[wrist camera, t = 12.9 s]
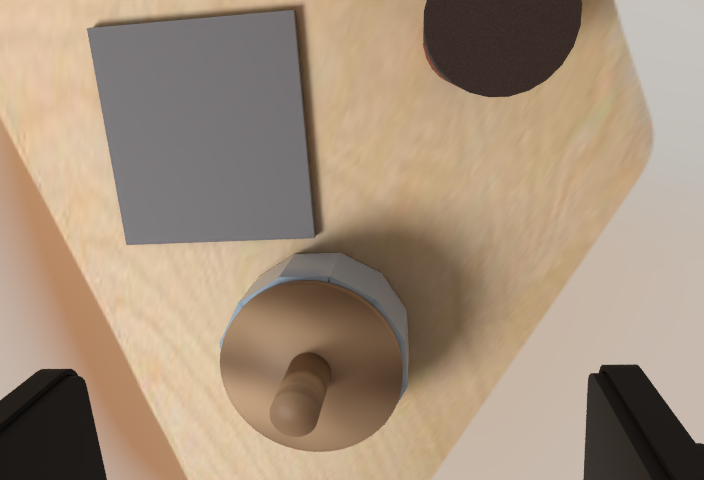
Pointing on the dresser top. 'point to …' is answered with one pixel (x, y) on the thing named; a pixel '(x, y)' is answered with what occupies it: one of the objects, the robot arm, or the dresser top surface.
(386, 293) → the bowl
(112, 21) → the dresser top surface
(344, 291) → the lid
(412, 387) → the dresser top surface
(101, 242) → the dresser top surface
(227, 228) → the mat
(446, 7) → the deodorant
